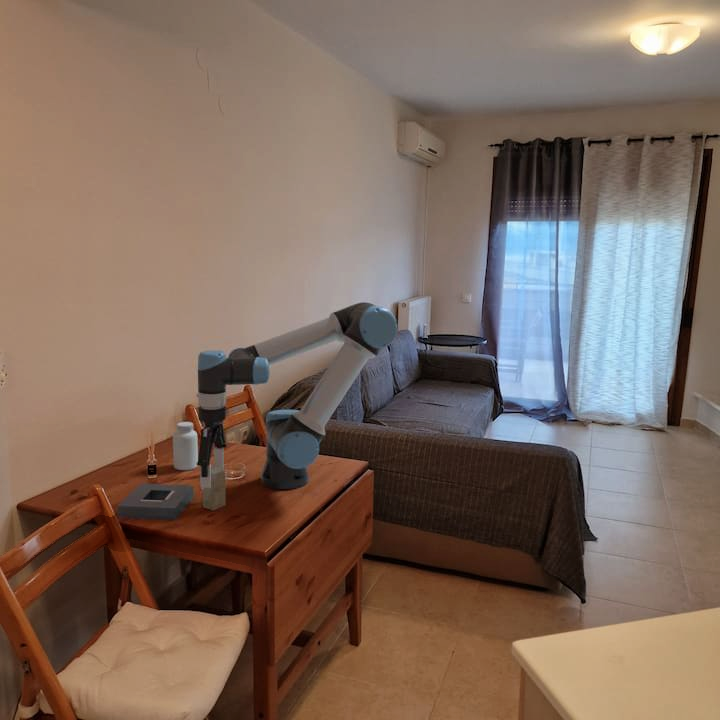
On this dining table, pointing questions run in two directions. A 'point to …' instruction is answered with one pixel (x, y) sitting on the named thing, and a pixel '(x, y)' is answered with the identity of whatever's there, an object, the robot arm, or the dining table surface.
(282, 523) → the dining table surface
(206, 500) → the box
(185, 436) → the pill bottle
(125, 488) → the dining table surface
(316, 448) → the robot arm
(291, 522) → the dining table surface
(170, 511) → the base
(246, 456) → the dining table surface
